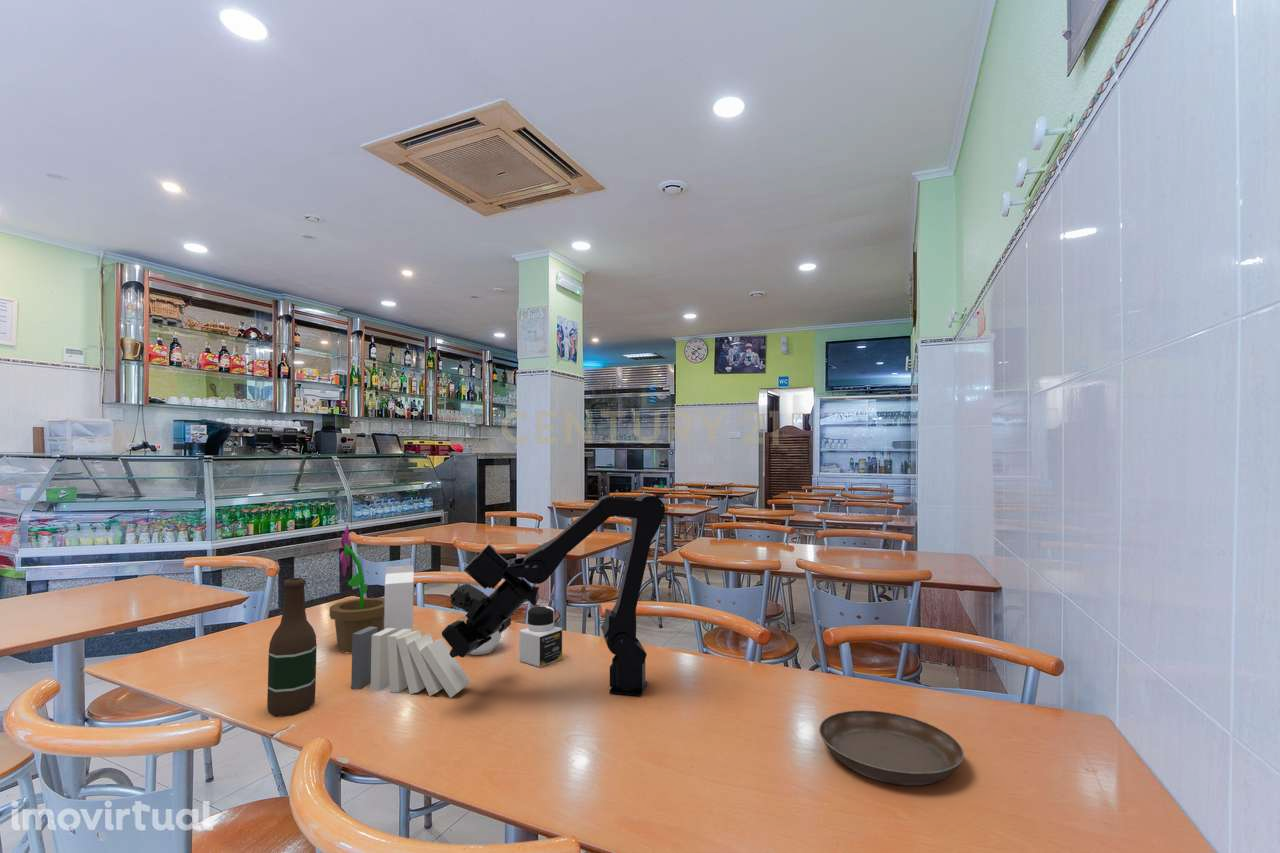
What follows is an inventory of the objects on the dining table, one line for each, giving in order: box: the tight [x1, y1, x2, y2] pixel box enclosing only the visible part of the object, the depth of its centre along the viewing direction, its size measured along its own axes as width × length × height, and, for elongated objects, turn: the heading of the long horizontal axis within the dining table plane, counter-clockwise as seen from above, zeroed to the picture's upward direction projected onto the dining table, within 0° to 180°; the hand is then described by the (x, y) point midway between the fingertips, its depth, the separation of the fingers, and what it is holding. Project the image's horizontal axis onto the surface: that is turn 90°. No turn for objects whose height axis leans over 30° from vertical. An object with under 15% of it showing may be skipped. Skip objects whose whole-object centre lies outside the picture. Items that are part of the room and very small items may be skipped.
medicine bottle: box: [518, 605, 563, 668], centre depth 135 cm, size 7×7×12 cm
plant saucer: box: [818, 709, 965, 786], centre depth 91 cm, size 21×21×3 cm
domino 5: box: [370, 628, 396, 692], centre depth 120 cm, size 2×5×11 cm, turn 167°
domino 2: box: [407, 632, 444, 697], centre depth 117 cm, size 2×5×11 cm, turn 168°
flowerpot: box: [329, 524, 385, 653], centre depth 146 cm, size 14×14×30 cm
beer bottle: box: [266, 577, 318, 717], centre depth 110 cm, size 8×8×24 cm
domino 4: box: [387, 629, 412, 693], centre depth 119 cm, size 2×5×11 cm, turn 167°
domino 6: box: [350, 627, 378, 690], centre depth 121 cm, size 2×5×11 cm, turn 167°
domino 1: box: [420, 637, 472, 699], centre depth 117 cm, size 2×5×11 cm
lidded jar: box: [457, 615, 503, 656], centre depth 141 cm, size 11×11×9 cm
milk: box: [384, 565, 415, 632], centre depth 133 cm, size 6×6×22 cm
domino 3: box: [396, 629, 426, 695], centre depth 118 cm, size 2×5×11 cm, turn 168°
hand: (451, 655), depth 116 cm, fingers closed
